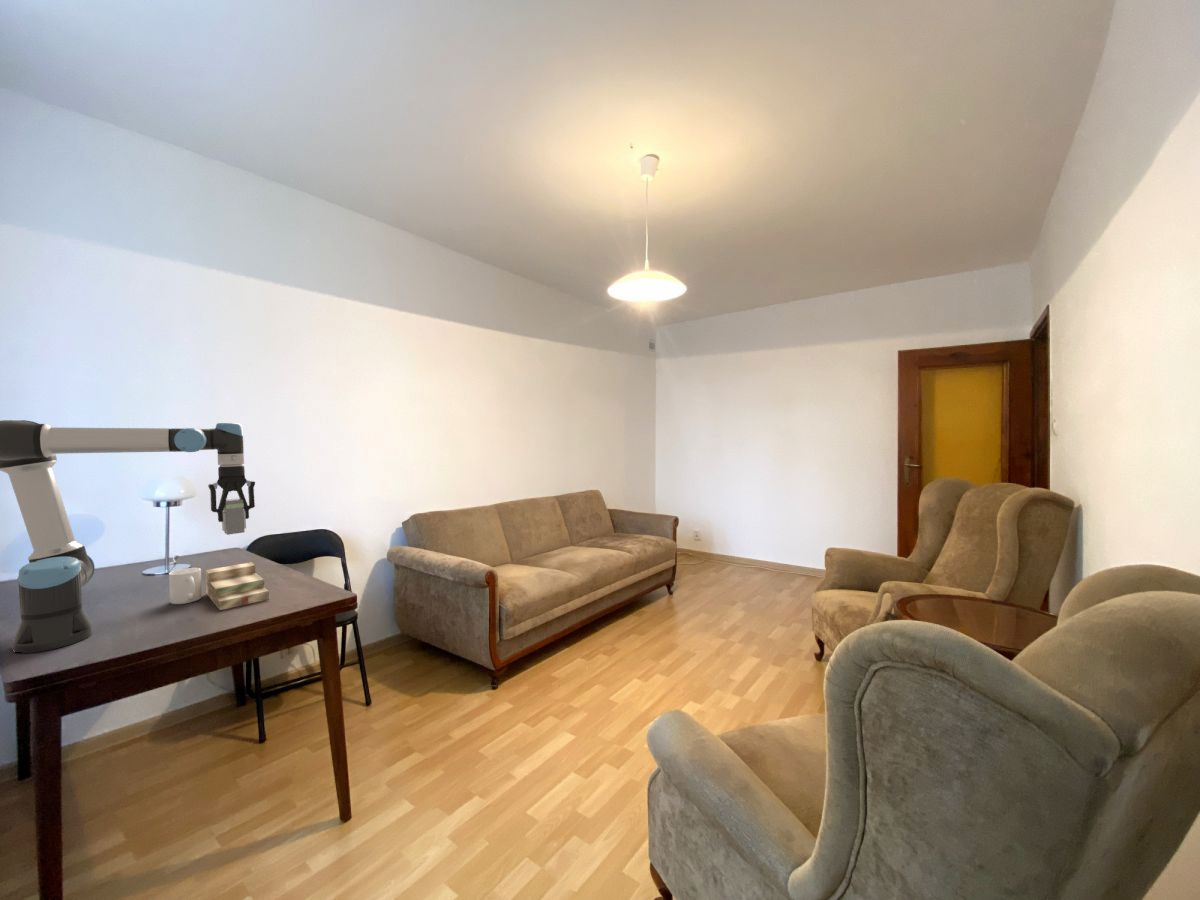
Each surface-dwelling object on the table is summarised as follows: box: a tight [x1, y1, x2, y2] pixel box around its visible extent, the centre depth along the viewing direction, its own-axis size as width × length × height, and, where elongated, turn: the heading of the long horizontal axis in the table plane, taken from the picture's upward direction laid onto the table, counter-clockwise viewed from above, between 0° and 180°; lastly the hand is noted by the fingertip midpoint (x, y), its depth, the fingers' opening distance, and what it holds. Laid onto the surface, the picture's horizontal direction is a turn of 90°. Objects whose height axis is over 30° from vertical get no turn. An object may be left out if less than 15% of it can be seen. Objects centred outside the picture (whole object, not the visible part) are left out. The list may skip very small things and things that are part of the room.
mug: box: [168, 567, 203, 605], centre depth 169 cm, size 9×12×11 cm
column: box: [223, 498, 245, 536], centre depth 172 cm, size 5×5×12 cm
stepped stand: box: [205, 561, 270, 611], centre depth 173 cm, size 14×24×9 cm, turn 48°
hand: (234, 529), depth 172 cm, fingers closed on column, 5 cm apart
